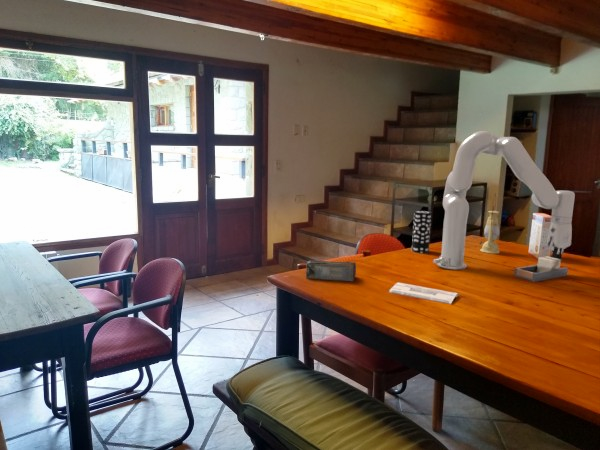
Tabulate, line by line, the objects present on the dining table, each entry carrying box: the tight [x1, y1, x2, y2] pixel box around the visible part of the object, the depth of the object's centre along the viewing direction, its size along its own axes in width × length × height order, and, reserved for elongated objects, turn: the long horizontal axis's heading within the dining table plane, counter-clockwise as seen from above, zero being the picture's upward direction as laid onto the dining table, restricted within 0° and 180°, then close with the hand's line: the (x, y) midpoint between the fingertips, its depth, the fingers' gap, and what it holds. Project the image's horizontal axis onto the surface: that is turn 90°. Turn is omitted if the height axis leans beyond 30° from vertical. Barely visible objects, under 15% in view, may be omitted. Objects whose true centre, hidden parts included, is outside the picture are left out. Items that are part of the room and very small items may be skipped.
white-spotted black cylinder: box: [411, 210, 432, 254], centre depth 228 cm, size 8×8×20 cm
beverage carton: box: [305, 259, 357, 282], centre depth 180 cm, size 8×19×7 cm, turn 79°
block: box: [536, 256, 562, 272], centre depth 191 cm, size 6×6×6 cm
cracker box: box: [527, 212, 552, 260], centre depth 222 cm, size 14×6×21 cm, turn 171°
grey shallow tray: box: [513, 264, 569, 283], centre depth 189 cm, size 22×9×3 cm, turn 119°
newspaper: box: [388, 282, 459, 305], centre depth 163 cm, size 23×12×2 cm, turn 59°
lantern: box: [479, 193, 500, 255], centre depth 230 cm, size 12×10×30 cm
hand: (556, 262), depth 193 cm, fingers closed
